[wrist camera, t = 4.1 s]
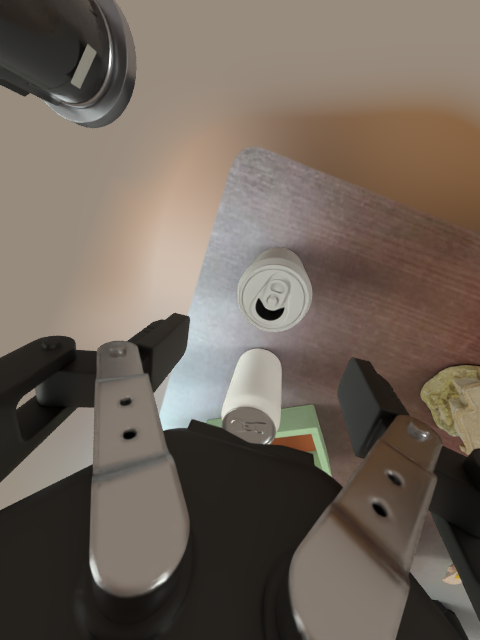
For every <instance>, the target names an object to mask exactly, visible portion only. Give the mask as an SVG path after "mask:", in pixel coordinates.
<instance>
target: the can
mask: <svg viewBox="0 0 480 640" xmlns="http://www.w3.org/2000/svg"><path fill="white" fill-rule="evenodd" d="M281 384H282V368H281V363H280V361H279V359H278V358H277V357H276V356H275V355H274V354H273V353H272V352H270V351H268V350H265V349H251V350H248V351H246V352H245V353H244V354H243V355H242V356H241V357H240V358H239V360H238V363H237V366H236V369H235V371H234V374H233V377H232V380H231V383H230V386H229V389H228V392H227V395H226V398H225V401H224V404H223V408H222V428H223V429H225V430H226V431H228V432H230V433H232V434H234V435H236V436H238V437H240V438H241V439H243V440H245V441H247V442H249V443H256V444H271V443H272V442H273V440H274V439H275V436H276V432H277V430H278V428H279V426H280V418H281Z"/></svg>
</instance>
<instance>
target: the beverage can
mask: <svg viewBox="0 0 480 640" xmlns="http://www.w3.org/2000/svg"><path fill="white" fill-rule="evenodd" d="M237 301H238V305H239V307H240V310H241V312H242V314H243V316H244V317H245V318H246V319H247V320H248V322H249V323H250V324H252V325H253V326H255V327H256V328H258V329H261V330H264V331H268V332H280V331H284V330H287V329H289V328H291V327H293V326H295V325H296V324H297V323H298V322H299V321H300V320H301V319H302V318H303V317H304V316H305V315H306V313H307V312H308V310H309V308H310V305H311V301H312V287H311V283H310V280H309V278H308V276H307V273H306V271H305V269H304V267H303V264H302V262H301V260H300V259H299V257H298V256H297V255H296V254H295V253H294V252H292V251H291V250H288V249H286V248H280V247H276V248H271V249H268V250H266V251H264V252H262V253H261V254H260V255H259V256H258V257H257V258H256V259H255V261H254V262H253V263H252V264H251V265H250V266H249V268H248V269H247V270H246V271H245V272H244V274H243V275H242V277H241V279H240V281H239V284H238V288H237Z"/></svg>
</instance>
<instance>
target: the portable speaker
mask: <svg viewBox="0 0 480 640" xmlns="http://www.w3.org/2000/svg"><path fill="white" fill-rule="evenodd" d="M433 602H434V603H435V604H436V606H437V607H438V608H439V610H440V611H441V612H442V613H443V615H444V616H445V617H446V618H447V620H448V621H449V622H450V623H451V625H452V626H453V627H454V629H455V630H456V631H457V632H458V634H459V635H460V636H461V637H462V639H463V640H469V639H468V637H467V635H466V633H465V631H464V629H463V628H462V626H461V624H460V622H459V620H458V618H457V617H456V615H455V613H454V612H450V611H448V610H447V609H446V608H445V607H444V606H443V605H442V603H440V602H438V601H433Z"/></svg>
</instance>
